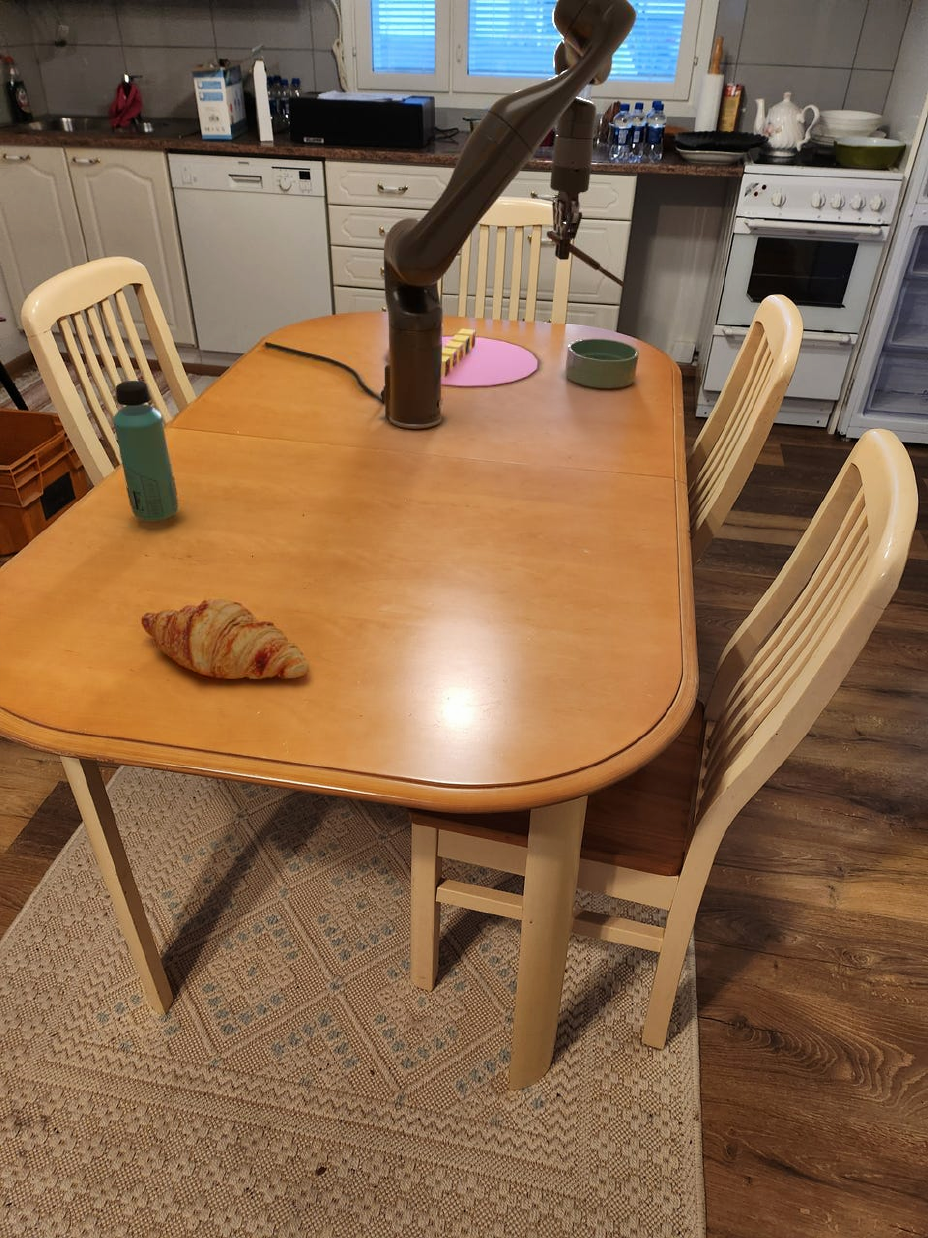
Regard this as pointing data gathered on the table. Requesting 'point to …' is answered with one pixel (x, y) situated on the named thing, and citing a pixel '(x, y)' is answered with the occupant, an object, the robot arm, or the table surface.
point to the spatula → (585, 258)
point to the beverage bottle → (144, 454)
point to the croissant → (225, 642)
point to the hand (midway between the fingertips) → (561, 257)
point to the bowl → (601, 363)
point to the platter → (483, 361)
